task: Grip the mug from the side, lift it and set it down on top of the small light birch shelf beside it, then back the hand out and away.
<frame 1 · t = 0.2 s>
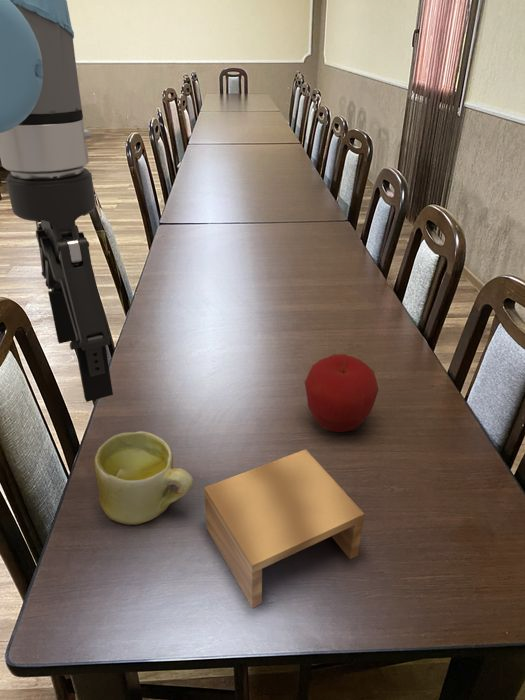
hand: (83, 366, 60), 20 cm above the table, tool pointing down, fingers open, 13 cm apart
apple: (337, 425, 83), on the table
shelf: (280, 541, 64), on the table
mug: (149, 505, 69), on the table
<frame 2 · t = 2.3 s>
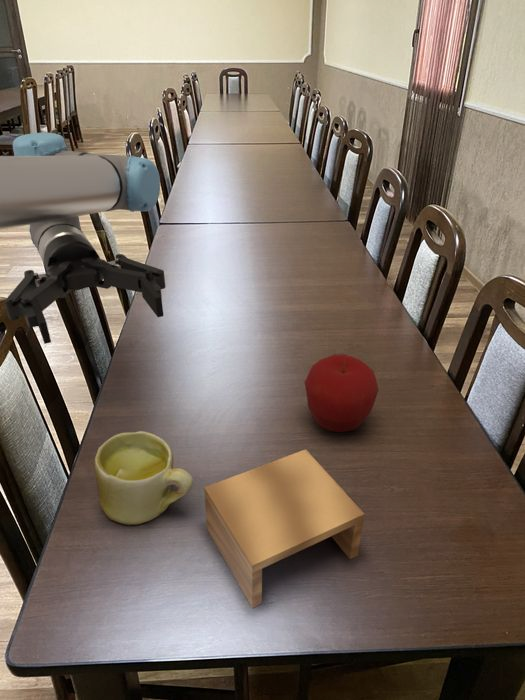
hand: (105, 319, 64), 23 cm above the table, tool horizontal, fingers open, 13 cm apart
nothing on the table moved.
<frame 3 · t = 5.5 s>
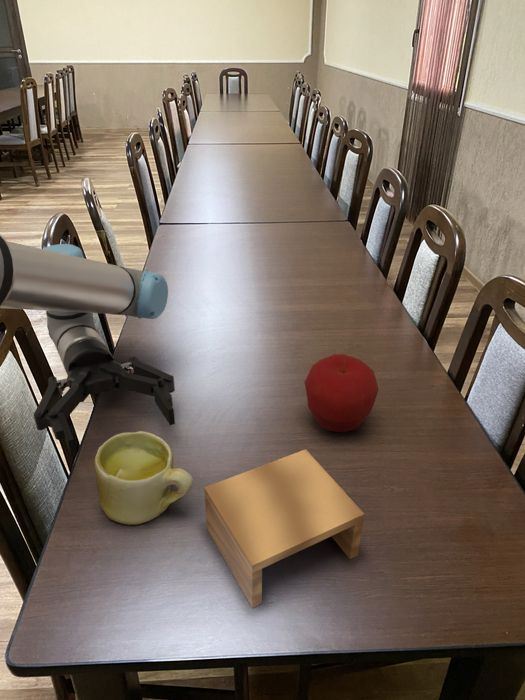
hand: (124, 432, 72), 6 cm above the table, tool horizontal, fingers open, 13 cm apart
nothing on the table moved.
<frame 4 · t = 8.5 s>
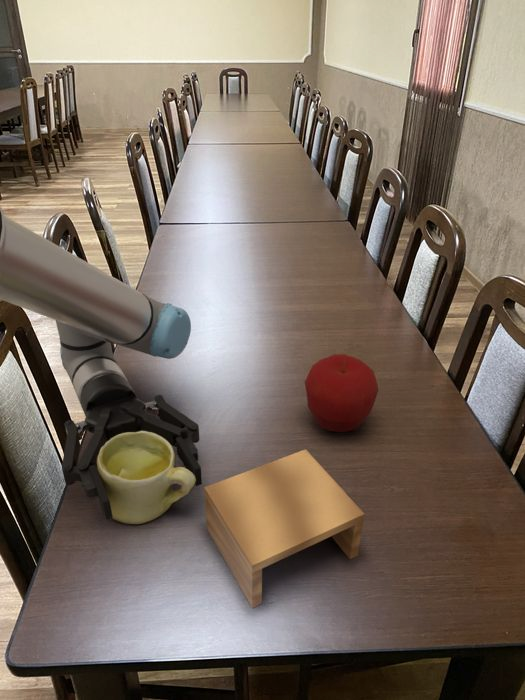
hand: (154, 492, 63), 6 cm above the table, tool horizontal, fingers closed on mug, 10 cm apart
mug: (151, 505, 69), on the table, touching gripper
everything else where it was.
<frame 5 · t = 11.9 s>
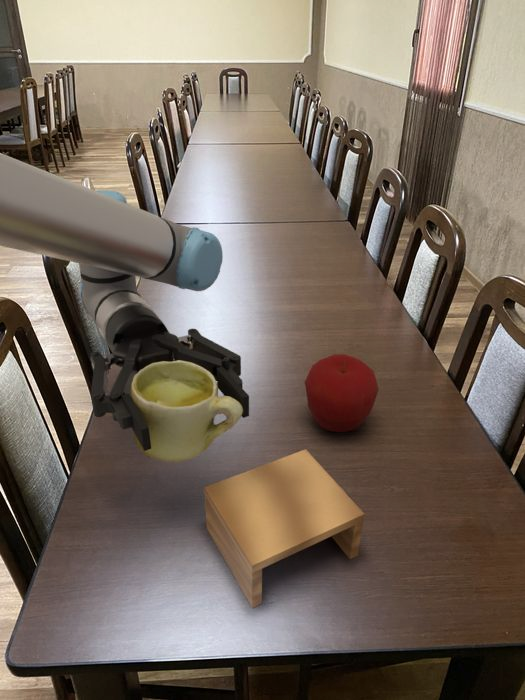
hand: (198, 422, 55), 18 cm above the table, tool horizontal, fingers closed on mug, 10 cm apart
mug: (189, 444, 61), point 12 cm above the table, touching gripper
everything else where it was.
when the fingers open (13 cm above the table, at t = 15.8 s): mug stays where it is, resting on shelf.
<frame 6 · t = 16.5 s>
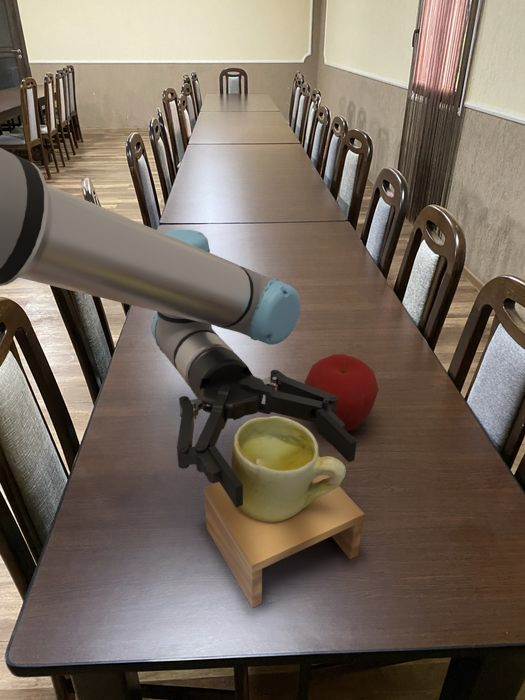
hand: (299, 473, 55), 14 cm above the table, tool horizontal, fingers open, 13 cm apart
mug: (285, 500, 61), point 7 cm above the table, touching shelf
everything else where it was.
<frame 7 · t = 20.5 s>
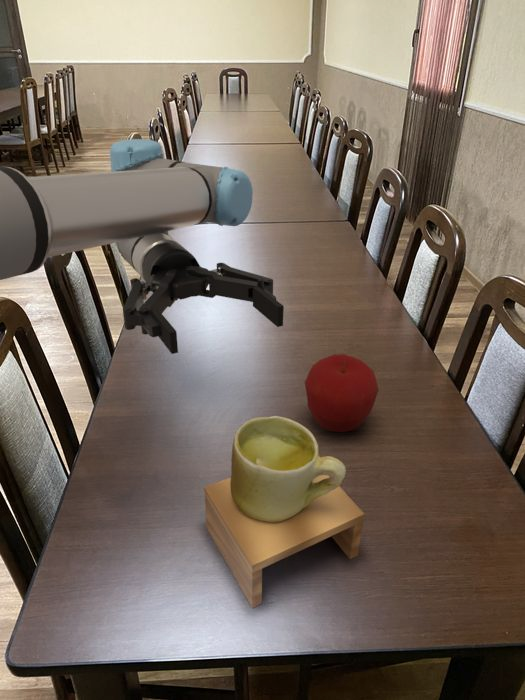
hand: (229, 329, 62), 23 cm above the table, tool horizontal, fingers open, 13 cm apart
nothing on the table moved.
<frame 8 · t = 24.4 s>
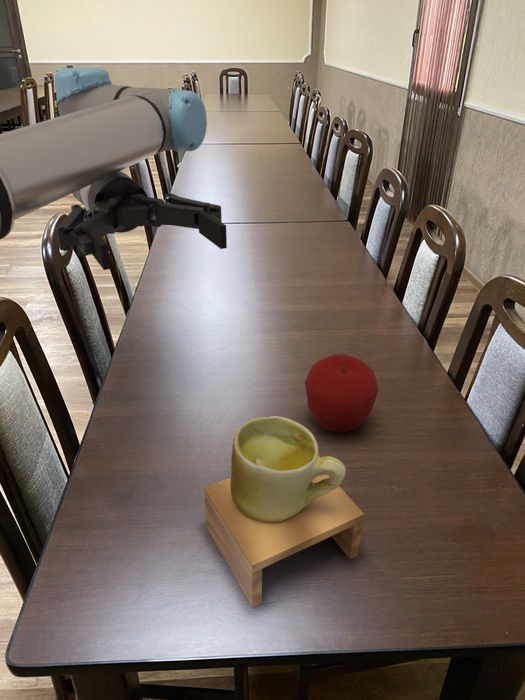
hand: (167, 247, 59), 32 cm above the table, tool horizontal, fingers open, 13 cm apart
nothing on the table moved.
at the end: mug inside the target area on the shelf (0.3 cm from its centre), point 6.8 cm above the shelf's base; mug tilted 0°; the gripper is holding nothing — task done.
